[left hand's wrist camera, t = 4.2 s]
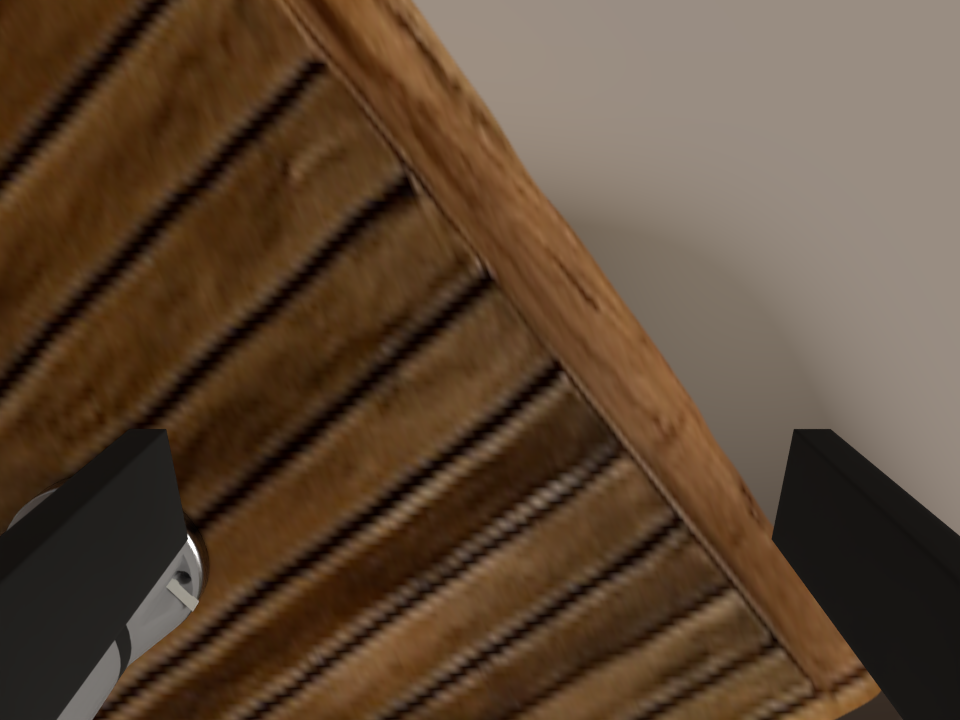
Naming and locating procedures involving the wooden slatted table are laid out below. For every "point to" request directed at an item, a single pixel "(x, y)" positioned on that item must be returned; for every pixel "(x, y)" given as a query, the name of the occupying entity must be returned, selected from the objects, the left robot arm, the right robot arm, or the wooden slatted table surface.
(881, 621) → the left robot arm
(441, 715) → the wooden slatted table surface
